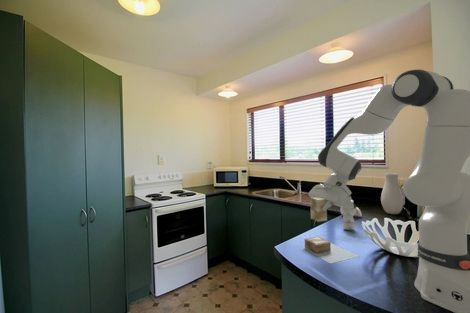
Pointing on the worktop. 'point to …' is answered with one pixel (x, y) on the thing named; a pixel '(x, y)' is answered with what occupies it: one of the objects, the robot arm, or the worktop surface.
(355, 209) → the pale grey lumpy piece
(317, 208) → the birch column
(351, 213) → the grey statuette
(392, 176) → the vase
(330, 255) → the pale flat sheet
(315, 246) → the walnut plinth
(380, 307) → the worktop surface
